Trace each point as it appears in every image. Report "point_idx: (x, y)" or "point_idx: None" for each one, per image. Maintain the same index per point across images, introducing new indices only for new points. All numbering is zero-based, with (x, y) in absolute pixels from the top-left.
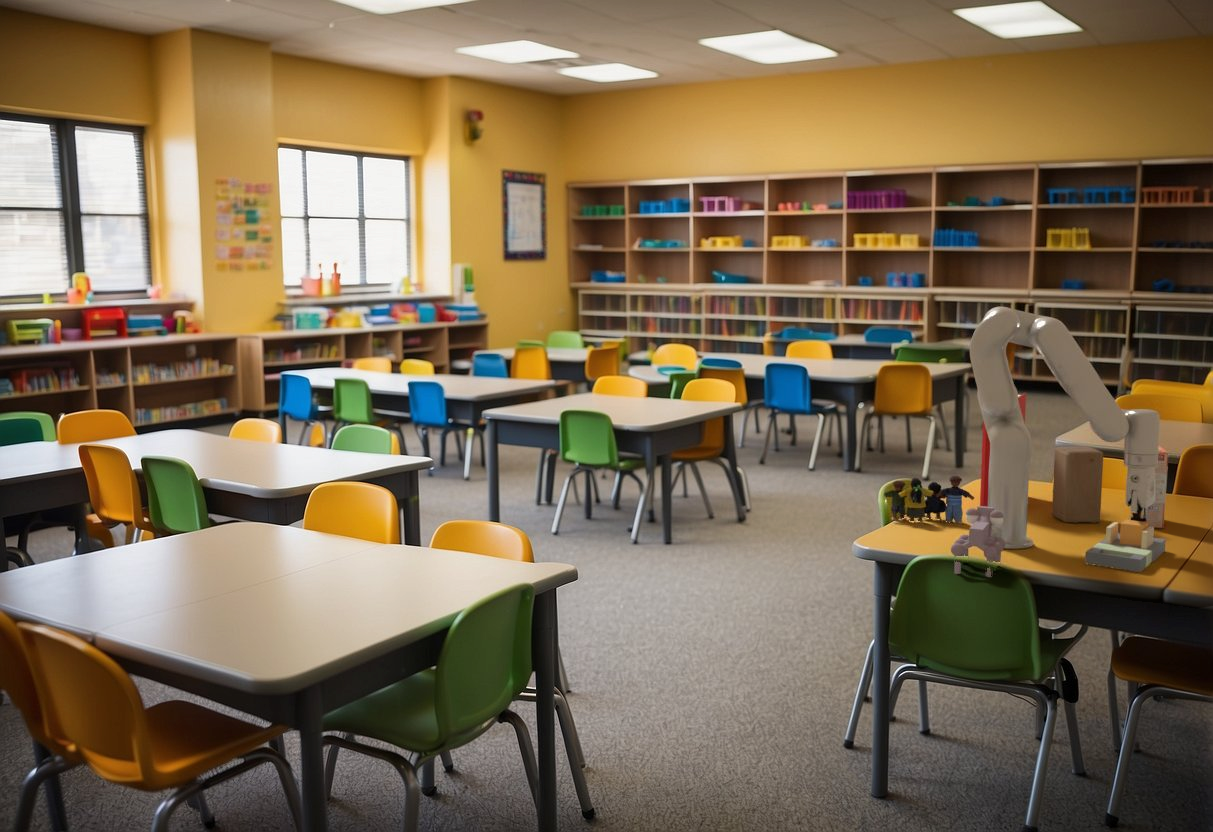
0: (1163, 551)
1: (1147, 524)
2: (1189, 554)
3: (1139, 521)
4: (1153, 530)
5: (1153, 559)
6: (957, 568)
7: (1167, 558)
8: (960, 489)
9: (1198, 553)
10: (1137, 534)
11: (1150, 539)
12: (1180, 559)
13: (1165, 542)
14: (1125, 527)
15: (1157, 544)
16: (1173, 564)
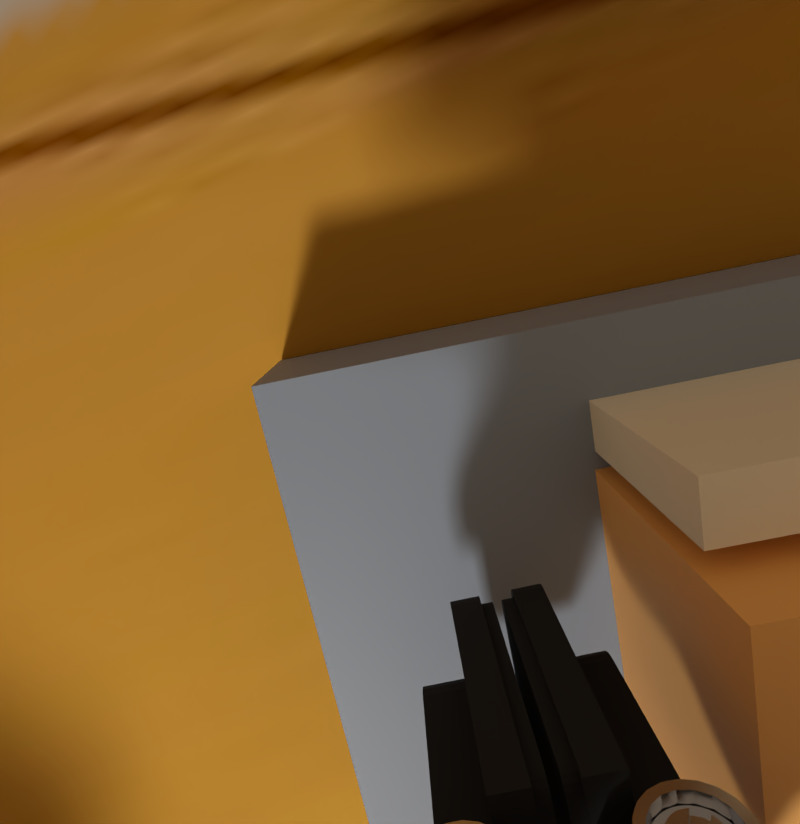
0: (350, 348)
1: (778, 593)
2: (202, 116)
3: (789, 759)
4: (691, 451)
5: (794, 257)
6: None
7: (562, 208)
8: None
9: (71, 61)
10: None
11: (796, 387)
12: (504, 86)
13: (266, 377)
14: None
15: (620, 332)
16: (784, 40)
